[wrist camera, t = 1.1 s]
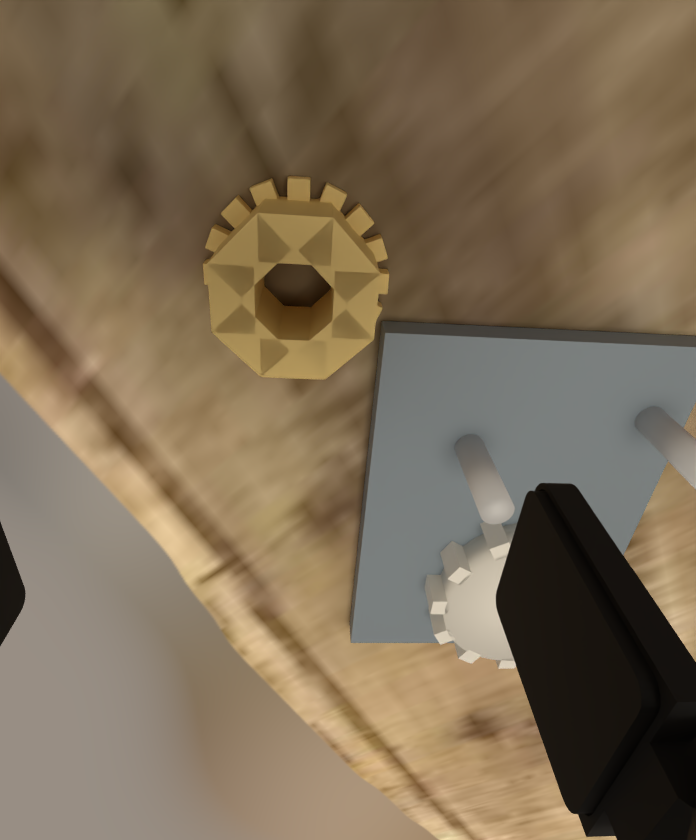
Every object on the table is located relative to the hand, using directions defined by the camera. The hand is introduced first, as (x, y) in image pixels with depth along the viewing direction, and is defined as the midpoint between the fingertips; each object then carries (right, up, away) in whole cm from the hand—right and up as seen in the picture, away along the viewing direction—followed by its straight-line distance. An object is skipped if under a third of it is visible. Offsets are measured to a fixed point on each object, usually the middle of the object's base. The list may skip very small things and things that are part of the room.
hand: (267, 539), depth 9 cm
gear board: (+10, -3, +22) cm, 24 cm away
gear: (-1, +9, +14) cm, 17 cm away
